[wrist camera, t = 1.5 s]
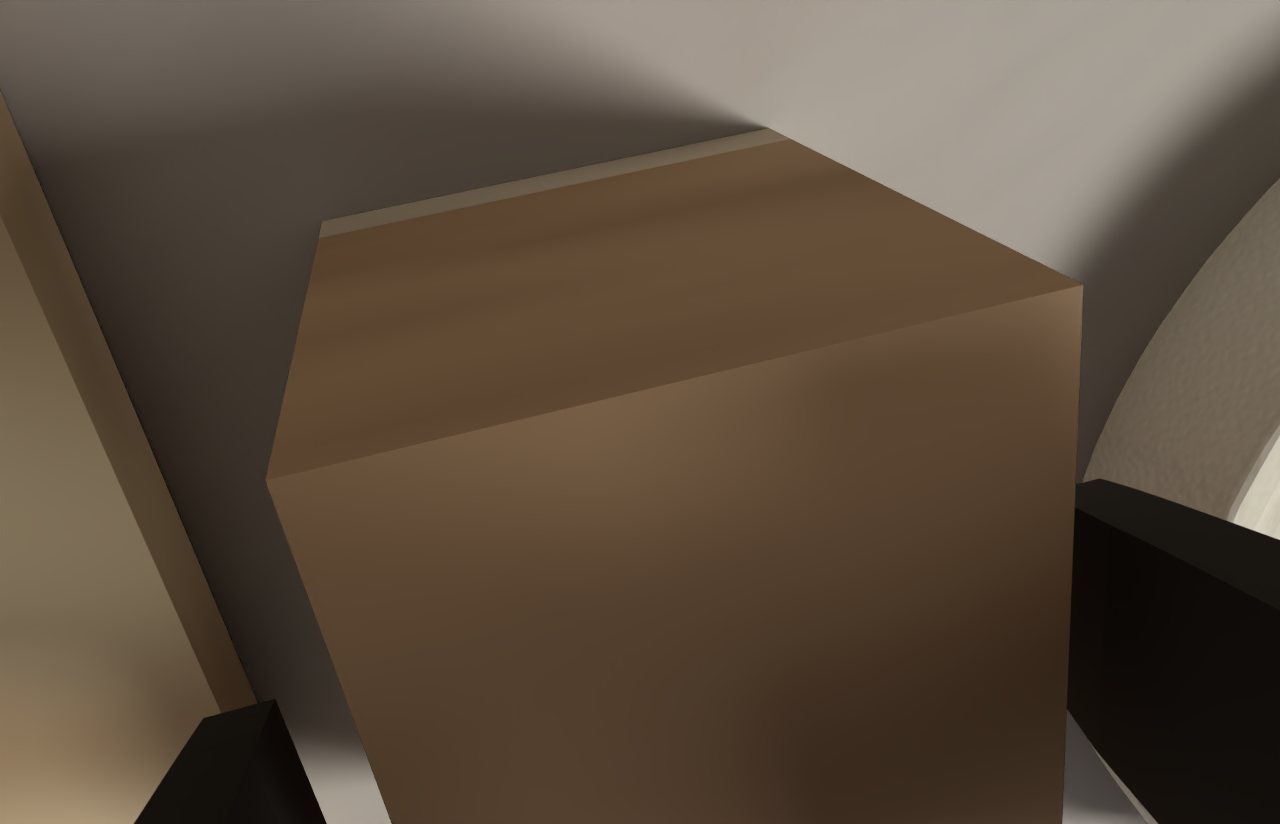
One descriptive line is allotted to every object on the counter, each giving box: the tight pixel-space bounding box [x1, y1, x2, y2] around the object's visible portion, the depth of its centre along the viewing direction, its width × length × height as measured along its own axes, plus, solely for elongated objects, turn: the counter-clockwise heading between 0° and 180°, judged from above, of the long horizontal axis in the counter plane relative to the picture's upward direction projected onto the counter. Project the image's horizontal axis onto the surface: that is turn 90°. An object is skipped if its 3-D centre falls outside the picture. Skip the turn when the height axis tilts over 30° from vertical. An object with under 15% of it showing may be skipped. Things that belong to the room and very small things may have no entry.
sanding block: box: [265, 128, 1083, 824], centre depth 10 cm, size 8×5×6 cm, turn 9°
